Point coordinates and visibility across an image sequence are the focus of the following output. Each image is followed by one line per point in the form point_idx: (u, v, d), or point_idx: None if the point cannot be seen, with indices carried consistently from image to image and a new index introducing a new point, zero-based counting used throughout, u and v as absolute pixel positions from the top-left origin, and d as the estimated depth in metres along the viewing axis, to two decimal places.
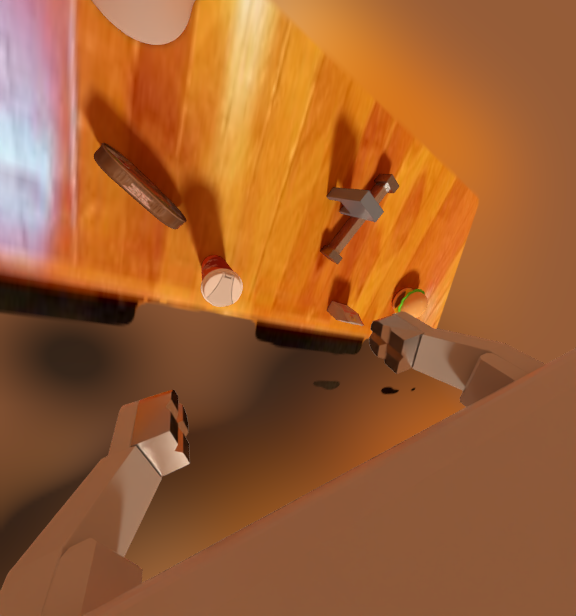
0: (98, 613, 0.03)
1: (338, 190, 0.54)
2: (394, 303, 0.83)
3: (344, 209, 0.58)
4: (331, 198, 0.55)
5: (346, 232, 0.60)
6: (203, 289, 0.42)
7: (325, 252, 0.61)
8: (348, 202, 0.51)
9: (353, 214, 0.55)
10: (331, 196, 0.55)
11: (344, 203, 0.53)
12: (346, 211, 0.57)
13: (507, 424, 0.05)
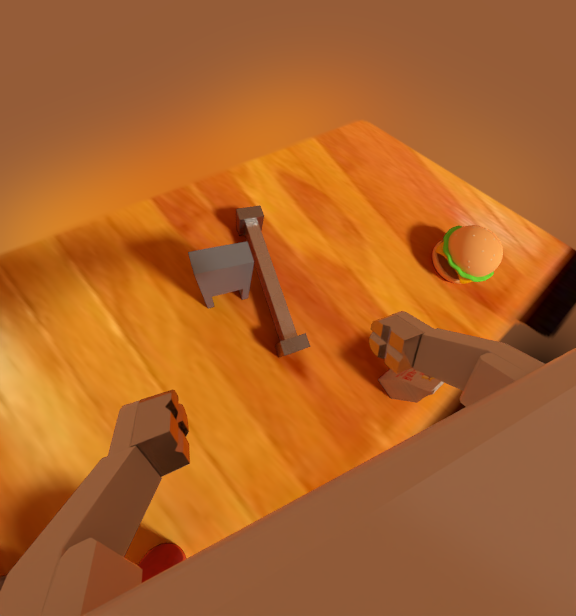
0: (98, 613, 0.03)
1: None
2: (450, 278, 0.47)
3: (240, 292, 0.36)
4: (208, 304, 0.34)
5: (273, 306, 0.35)
6: None
7: (280, 353, 0.34)
8: (208, 288, 0.29)
9: (243, 286, 0.32)
10: (206, 303, 0.34)
11: (215, 293, 0.31)
12: (241, 291, 0.35)
13: (507, 424, 0.05)
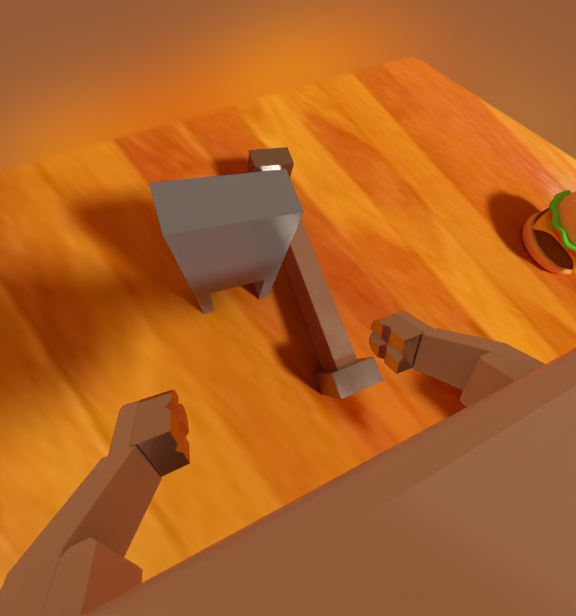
0: (98, 613, 0.03)
1: None
2: (555, 266, 0.32)
3: (257, 286, 0.22)
4: (203, 306, 0.20)
5: (313, 309, 0.21)
6: None
7: (328, 392, 0.20)
8: (202, 276, 0.14)
9: (266, 274, 0.18)
10: (200, 305, 0.20)
11: (215, 286, 0.16)
12: (260, 285, 0.21)
13: (507, 424, 0.05)
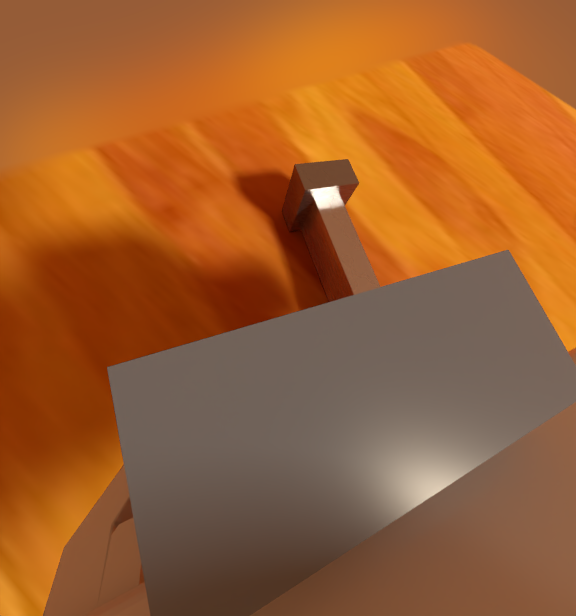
0: (98, 613, 0.03)
1: None
2: None
3: None
4: None
5: None
6: None
7: None
8: None
9: None
10: None
11: None
12: None
13: None
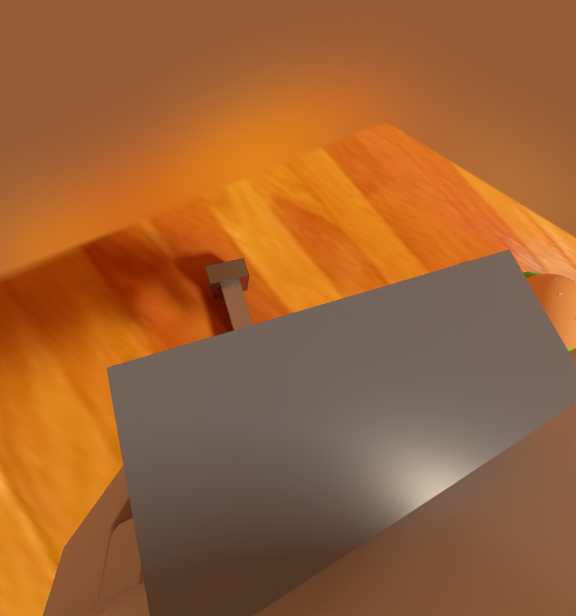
0: (98, 613, 0.03)
1: None
2: None
3: None
4: None
5: None
6: None
7: None
8: None
9: None
10: None
11: None
12: None
13: None
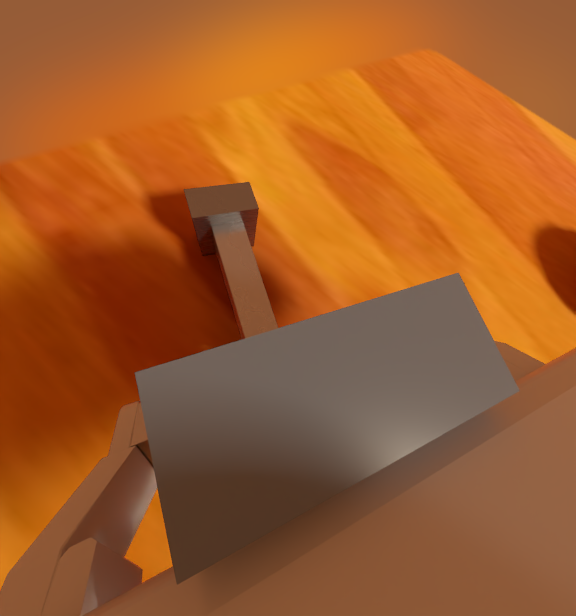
0: (98, 613, 0.03)
1: None
2: None
3: None
4: None
5: None
6: None
7: None
8: None
9: None
10: None
11: None
12: None
13: (507, 424, 0.05)
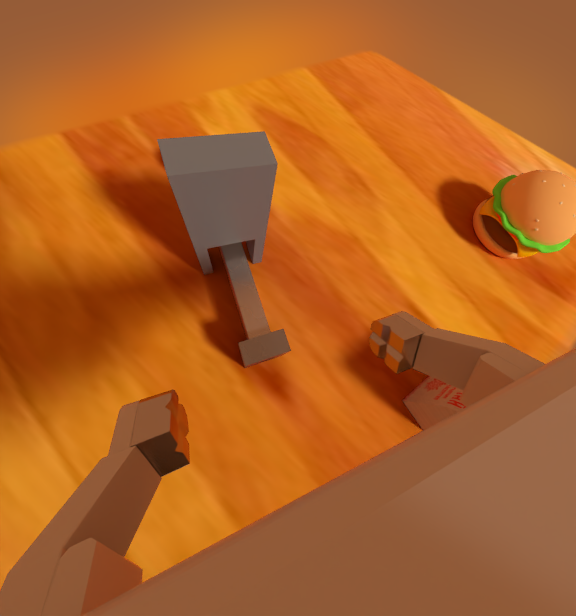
0: (98, 613, 0.03)
1: None
2: (502, 250, 0.32)
3: (251, 251, 0.25)
4: (203, 265, 0.23)
5: (232, 285, 0.22)
6: None
7: (243, 363, 0.21)
8: (200, 226, 0.17)
9: (255, 232, 0.21)
10: (200, 264, 0.23)
11: (212, 240, 0.20)
12: (253, 248, 0.24)
13: (507, 424, 0.05)
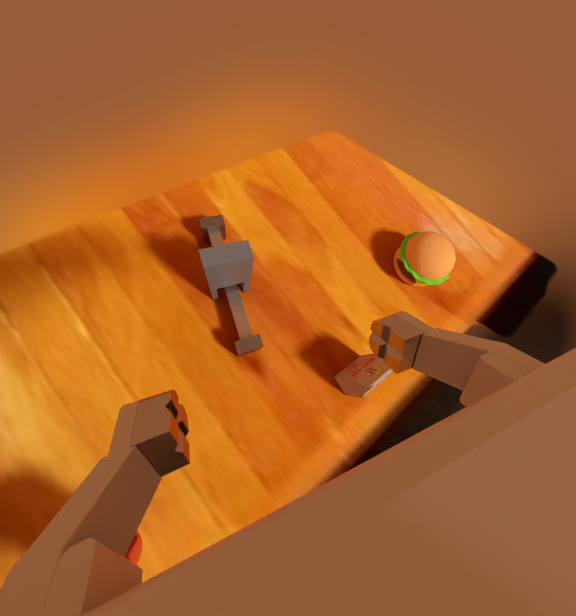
0: (98, 613, 0.03)
1: None
2: (408, 281, 0.49)
3: (242, 286, 0.41)
4: (213, 296, 0.39)
5: (230, 308, 0.38)
6: None
7: (237, 353, 0.37)
8: (214, 281, 0.33)
9: (244, 279, 0.37)
10: None
11: (219, 285, 0.35)
12: (243, 285, 0.40)
13: (507, 424, 0.05)
